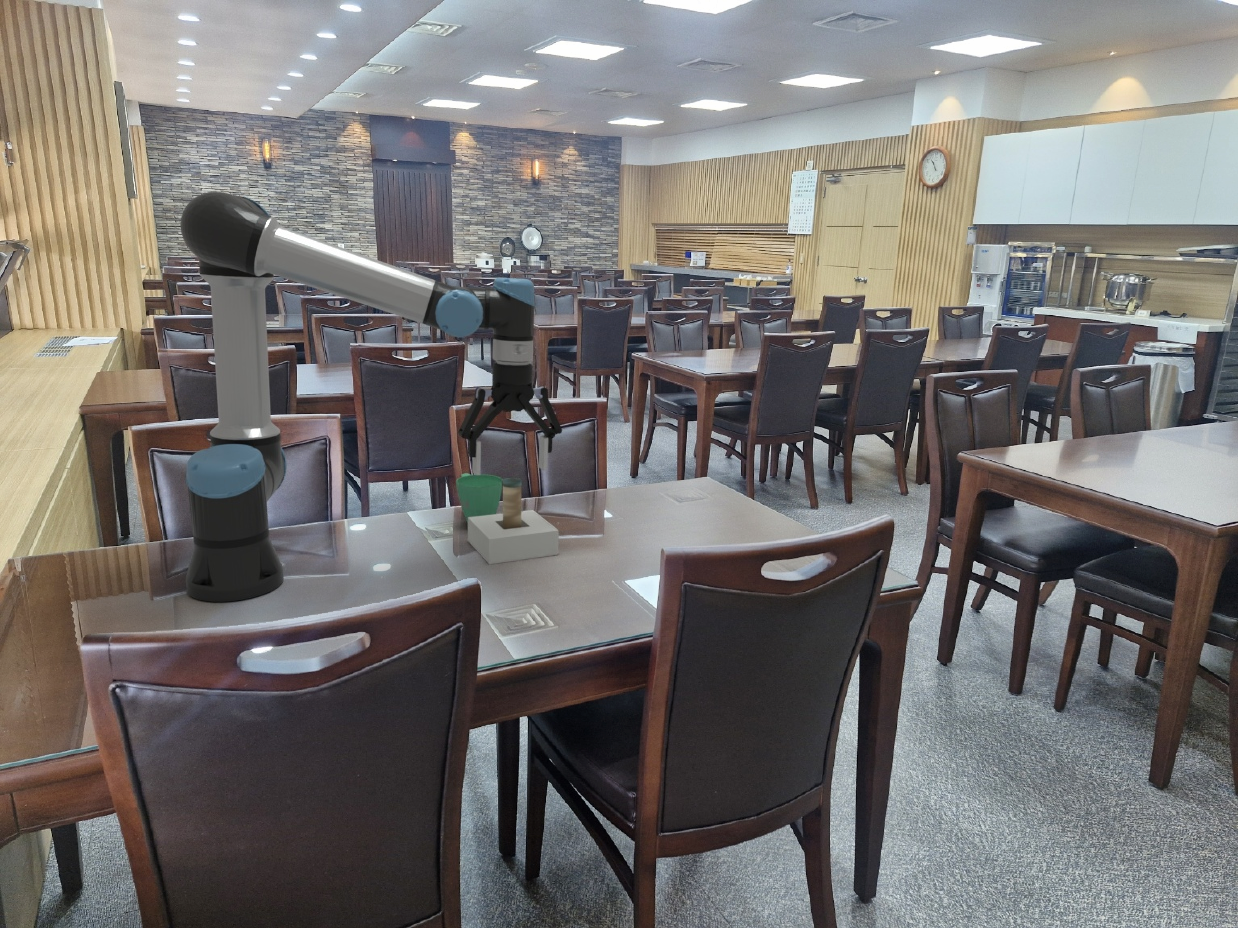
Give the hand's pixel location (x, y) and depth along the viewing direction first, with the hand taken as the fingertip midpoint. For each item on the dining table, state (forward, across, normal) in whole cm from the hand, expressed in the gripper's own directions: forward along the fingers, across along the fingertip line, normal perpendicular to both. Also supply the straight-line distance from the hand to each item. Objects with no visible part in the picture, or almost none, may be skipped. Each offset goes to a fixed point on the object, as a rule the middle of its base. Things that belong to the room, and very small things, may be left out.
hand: (510, 471), depth 158 cm
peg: (+16, +1, 0) cm, 16 cm away
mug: (+16, -1, +18) cm, 24 cm away
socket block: (+16, +1, 0) cm, 16 cm away
